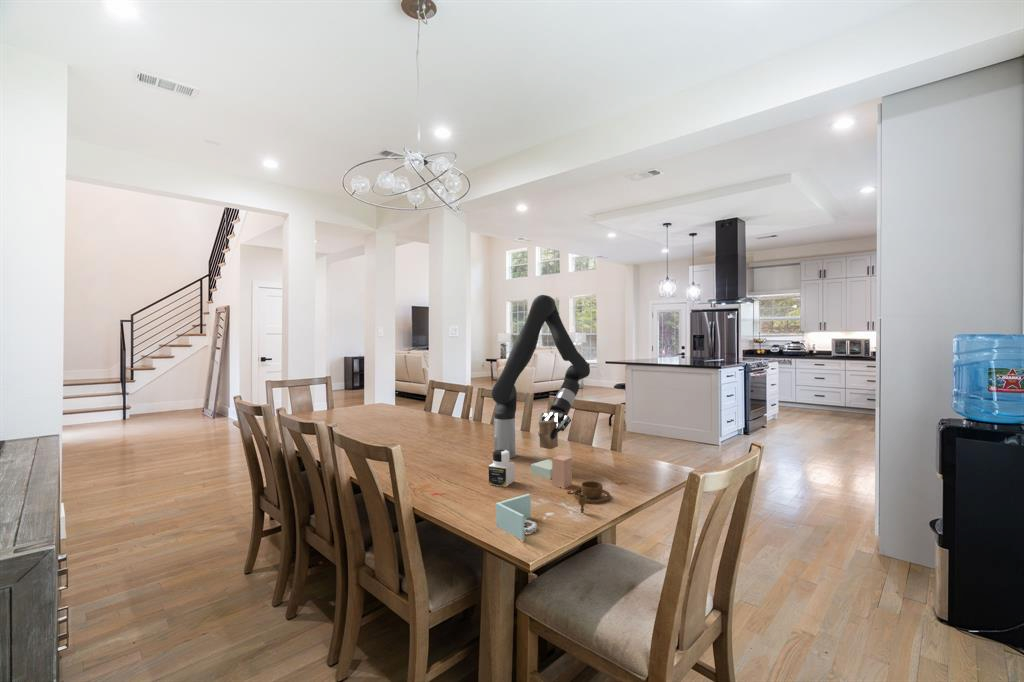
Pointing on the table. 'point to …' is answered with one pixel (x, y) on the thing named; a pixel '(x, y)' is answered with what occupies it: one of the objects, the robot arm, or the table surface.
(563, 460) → the terracotta pillar
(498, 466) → the medicine bottle
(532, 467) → the sage base block
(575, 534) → the table surface
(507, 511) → the l-shaped corner panel
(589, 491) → the place setting
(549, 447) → the walnut pillar
